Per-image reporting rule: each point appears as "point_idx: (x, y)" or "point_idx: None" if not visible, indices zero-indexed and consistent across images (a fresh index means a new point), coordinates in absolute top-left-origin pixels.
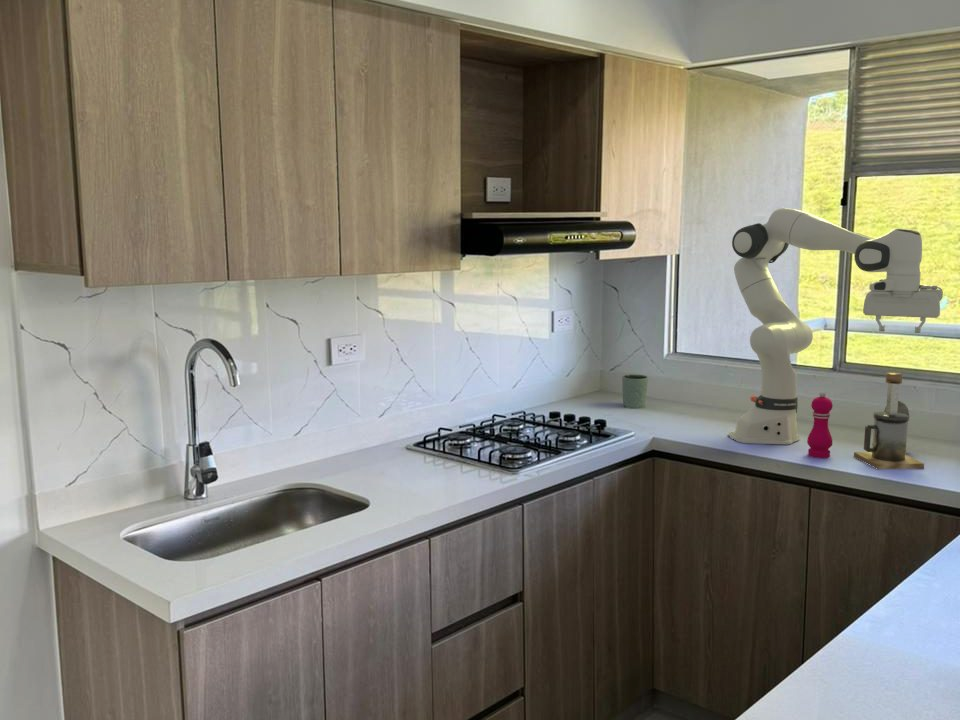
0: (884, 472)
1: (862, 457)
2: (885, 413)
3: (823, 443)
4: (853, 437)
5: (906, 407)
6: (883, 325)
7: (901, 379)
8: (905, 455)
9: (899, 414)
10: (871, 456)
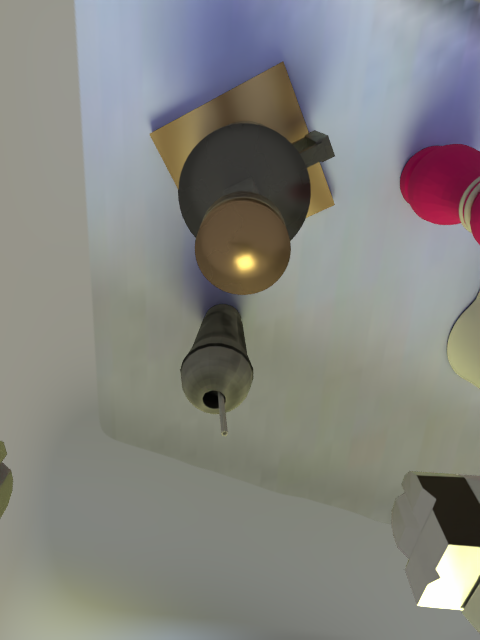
0: (263, 28)
1: None
2: None
3: (447, 146)
4: (307, 403)
5: (186, 380)
6: (461, 560)
7: (203, 218)
8: None
9: None
10: None
